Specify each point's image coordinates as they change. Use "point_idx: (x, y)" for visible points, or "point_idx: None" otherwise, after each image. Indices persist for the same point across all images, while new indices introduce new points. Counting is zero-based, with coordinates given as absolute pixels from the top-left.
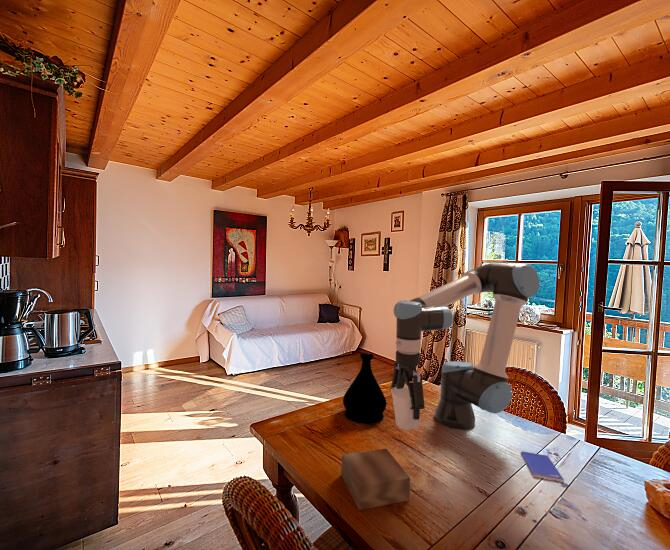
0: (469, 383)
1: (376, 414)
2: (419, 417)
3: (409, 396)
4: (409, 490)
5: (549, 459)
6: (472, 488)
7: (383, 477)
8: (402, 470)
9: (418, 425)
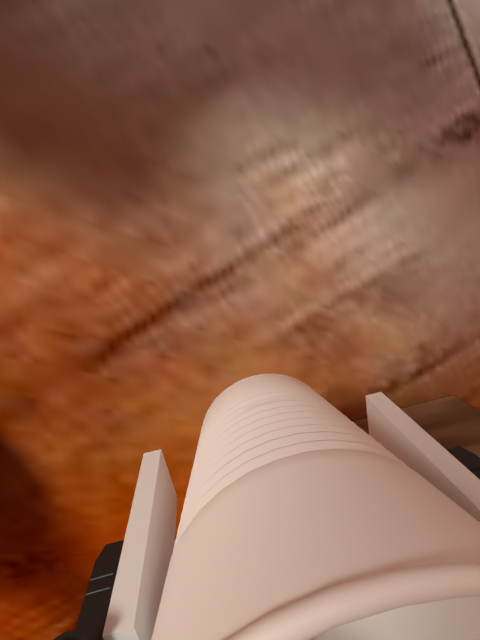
0: None
1: None
2: (478, 457)
3: (185, 557)
4: (477, 410)
5: None
6: (447, 160)
7: None
8: (472, 450)
9: (392, 405)
